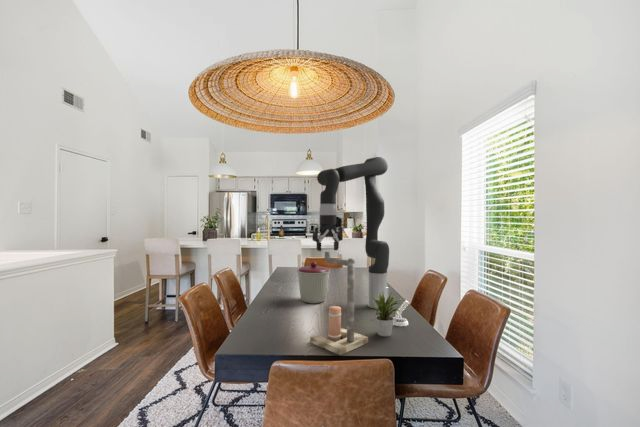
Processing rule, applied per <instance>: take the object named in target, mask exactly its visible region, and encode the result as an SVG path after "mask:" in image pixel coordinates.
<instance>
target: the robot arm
mask: <svg viewBox="0 0 640 427" xmlns="http://www.w3.org/2000/svg"><path fill="white" fill-rule="evenodd" d="M388 168H389V165H388V161H387V159H386V158H384V157H383V156H376V157H371V158H367V159H365V161H364V162H362V163H356V164H347V165H342V166H340V167H336V168H329V169H325V170H324V169H323V170H321V171H320V172H319V173H318V174H317V176H316V179H317V182H318V184H320V185H321V186H323V187H325V188H324V190H322V191H321V192H320V198H319V199H320V200H319V201H320V202H319V227H315V226H314V227H313V228H312V241H313V242H315V244H316V250H317V251H318V252H322V241H323V239H325V238H332V240H333V241H334V242H333V251H338V250H339V244H340V243H339V242H340V241H343V227H341V226H338V227H337V193H338V190H339V185H340V183H343V182H349V181H352V180H356V179H359V178H362V177H364V185H365V187H364V188H365V215H366V218H365V219H366V229H365V230H366V233H365V245H364V248H365V249H364V250H365V254H366V256H367V257H368V258H370V259H374V264H371V265H369V266H368V287H367V288H368V291H367V292H368V295H367V296H368V297H367V299H368V303H367V304H368V305H367V306H368V307H369V306H374V307H375V308H376V309H377V310H379V308H378V306H377V305H376V304H377V303H376V302H375V301H374V299H373V298H372V297H374V298H375V299H376V300H379V293H380V294H381V296H382V291H383V294H384V298H385V302H386V300H387V298H388V297H389V287H388V268H389V265H390V264H389V263H390V262H389V261H390V247H389V243H388V242H387V241H383V240H378V238H379V236H378V233H379V227H380V226H381V223H382V221H383V219H384V217H385V199H384V197H383V196H382V194H381V192H380V190H379V188H378V185H377V177H378V176H382V175H384V174H385V173H386V172H387V171H388ZM319 232H320V233H319ZM336 233H337V234H336Z"/></svg>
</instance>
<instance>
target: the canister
mask: <svg viewBox="0 0 640 427" xmlns="http://www.w3.org/2000/svg"><path fill="white" fill-rule="evenodd" d="M309 264H310V265H305V266H301V267H299V268H298V269H297V270H296V272H297V278H298V285H299V286H298V287H299V295H300V296H299V297H300V299H301V300H302V301H303V302H304V303H306V304H319V303H323V302H324V301H325V300H326V298H327V294H328V287H329V276H330V272H331V269H329V268H328V267H326V266H323V265H321V266H319V265H318V263H317V261H311V262H310V263H309Z"/></svg>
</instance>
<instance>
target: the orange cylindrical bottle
mask: <svg viewBox="0 0 640 427" xmlns="http://www.w3.org/2000/svg"><path fill="white" fill-rule="evenodd" d="M341 324H342V307H340V306H338V305H337V306H336V305H331V306H329V307H328V333H327V335H328V338H327V339H328V340H331V341H334V342H337V341H339V340H341V338H342V337H341V328H342V325H341Z"/></svg>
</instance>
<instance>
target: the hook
mask: <svg viewBox="0 0 640 427" xmlns="http://www.w3.org/2000/svg"><path fill="white" fill-rule="evenodd" d="M409 304H410V302H409V301H408V300H405V301H404V302H402V303H401V305H400V306H399V307H401V308H399V307H398V310H400V311H395V312H396V313H397V315H396V314H395V313H394V314H395V315H394V316H395V317H393V318H394V320H393V326H395V327H407V326H409V321H408V319H407V318H405V317H403V315H402V313H403V312H404V311H405V310H406V308H407V307H408V306H409Z"/></svg>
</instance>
